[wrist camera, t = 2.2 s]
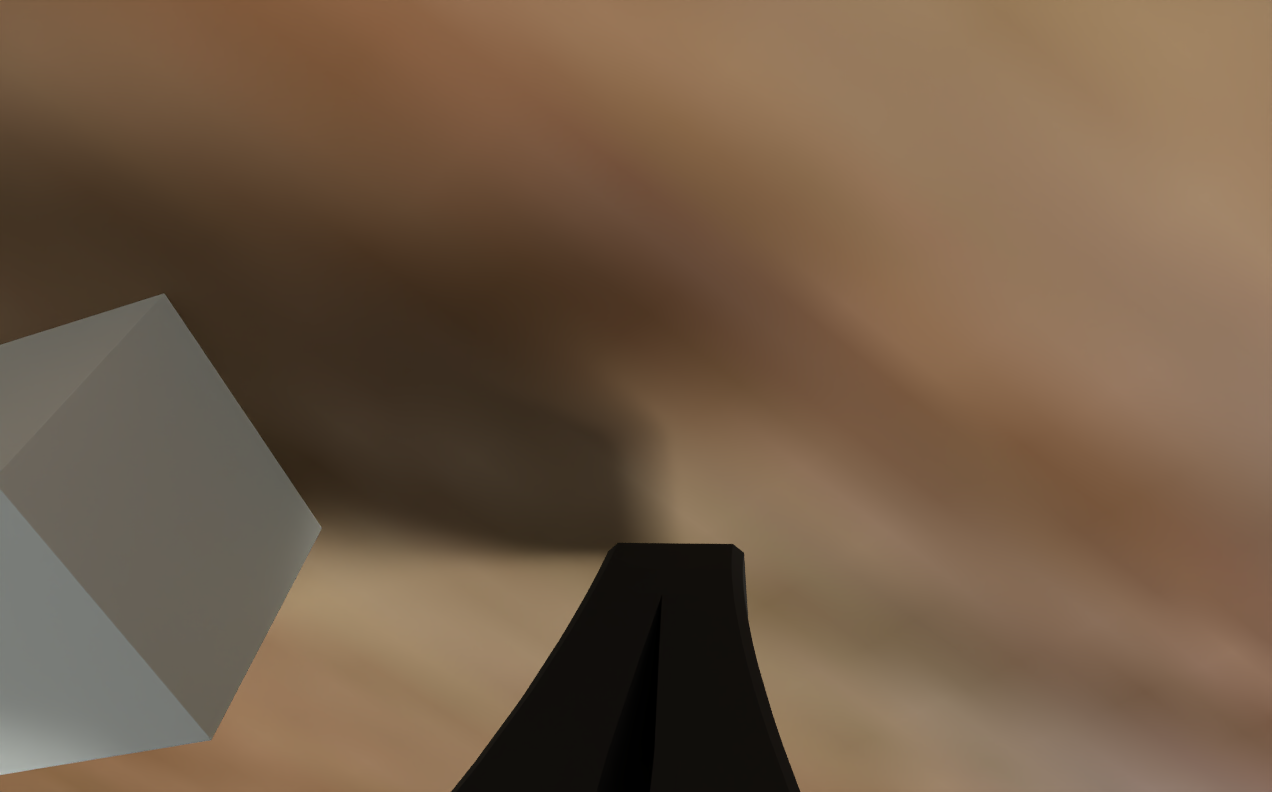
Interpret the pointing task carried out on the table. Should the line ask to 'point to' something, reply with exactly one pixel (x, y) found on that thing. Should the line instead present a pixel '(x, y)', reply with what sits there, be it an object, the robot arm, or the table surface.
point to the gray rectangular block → (131, 539)
